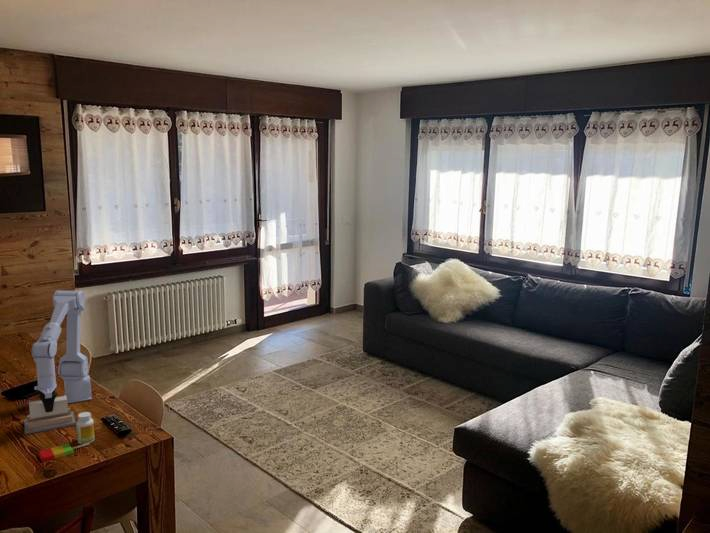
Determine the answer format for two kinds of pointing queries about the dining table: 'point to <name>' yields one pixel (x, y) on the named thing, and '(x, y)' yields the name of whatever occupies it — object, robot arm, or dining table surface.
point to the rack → (49, 422)
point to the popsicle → (58, 452)
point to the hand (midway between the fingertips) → (48, 409)
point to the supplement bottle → (85, 428)
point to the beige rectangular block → (39, 410)
